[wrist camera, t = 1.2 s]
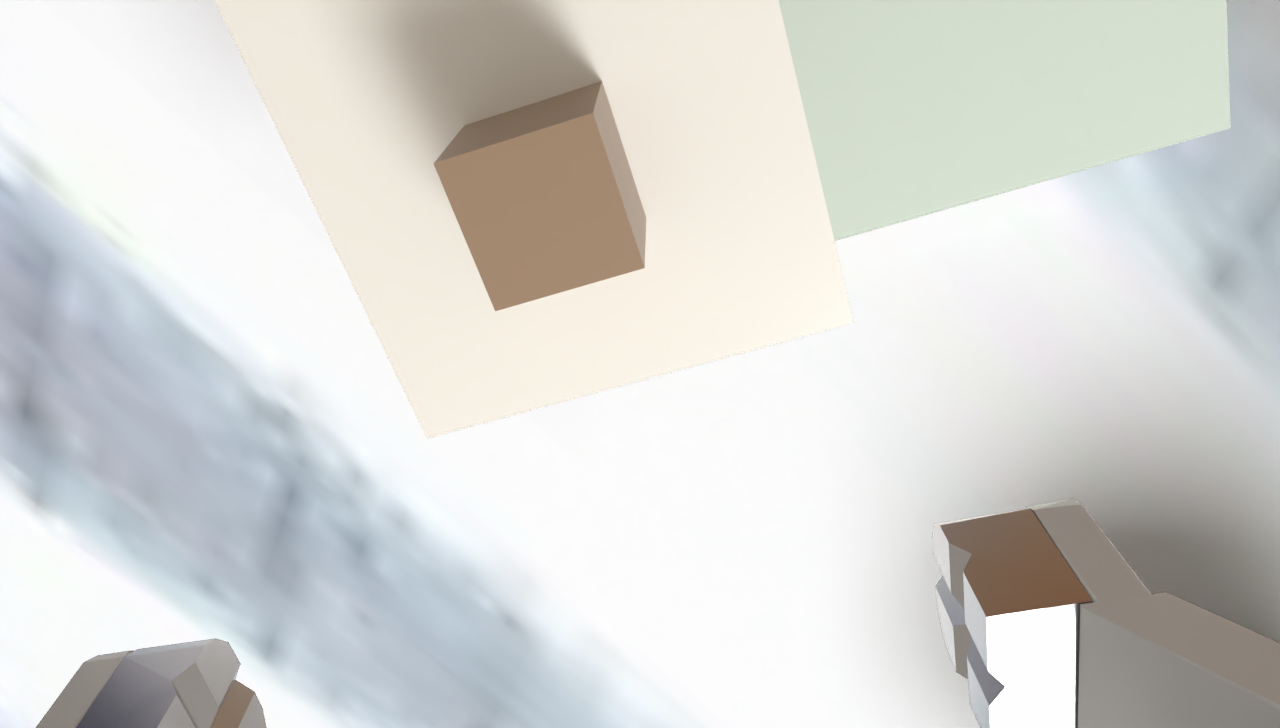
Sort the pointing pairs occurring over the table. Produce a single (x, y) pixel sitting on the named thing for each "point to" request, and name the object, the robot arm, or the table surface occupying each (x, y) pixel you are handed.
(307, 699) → the table surface
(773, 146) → the cover
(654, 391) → the table surface
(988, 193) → the mat
